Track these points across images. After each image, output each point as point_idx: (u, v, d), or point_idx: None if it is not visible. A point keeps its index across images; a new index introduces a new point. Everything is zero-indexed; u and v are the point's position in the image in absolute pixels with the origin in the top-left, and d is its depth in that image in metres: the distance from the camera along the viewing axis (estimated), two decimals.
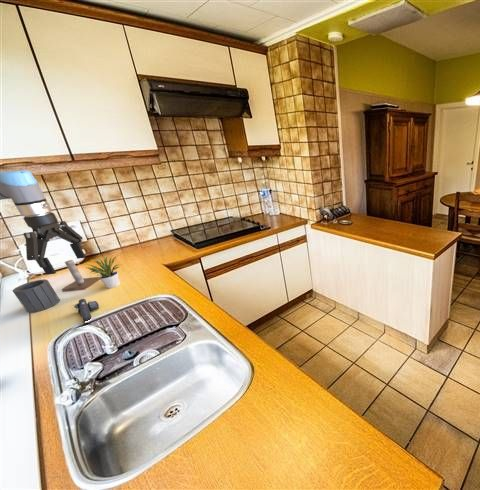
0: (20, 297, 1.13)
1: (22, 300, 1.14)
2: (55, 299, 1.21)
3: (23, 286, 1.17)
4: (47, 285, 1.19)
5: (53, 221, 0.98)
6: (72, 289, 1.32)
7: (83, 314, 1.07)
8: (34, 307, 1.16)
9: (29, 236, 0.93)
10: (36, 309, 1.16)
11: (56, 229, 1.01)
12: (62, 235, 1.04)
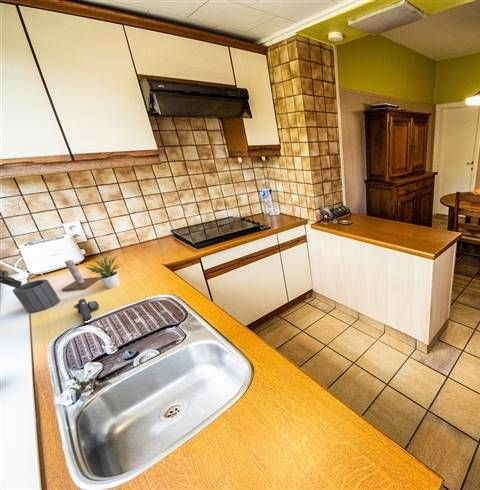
0: (20, 297, 1.13)
1: (22, 300, 1.14)
2: (55, 299, 1.21)
3: (23, 286, 1.17)
4: (47, 285, 1.19)
5: None
6: (72, 289, 1.32)
7: (83, 314, 1.07)
8: (34, 307, 1.16)
9: None
10: (36, 309, 1.16)
11: None
12: None
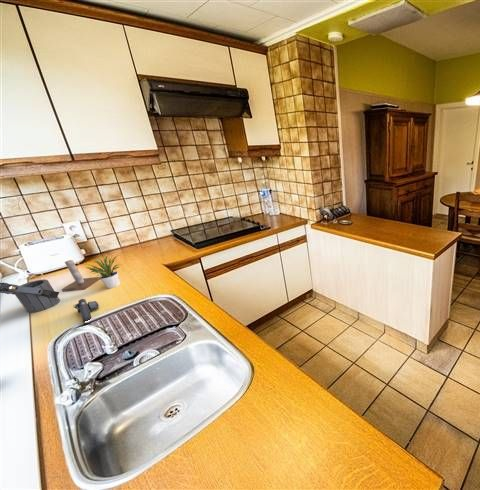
0: (20, 297, 1.13)
1: (22, 300, 1.14)
2: (55, 299, 1.21)
3: None
4: (47, 285, 1.19)
5: None
6: (72, 289, 1.32)
7: (83, 314, 1.07)
8: (34, 307, 1.16)
9: None
10: (36, 309, 1.16)
11: None
12: None
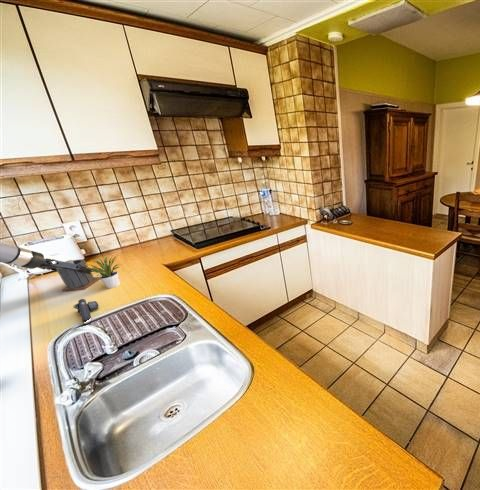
0: (62, 274, 1.28)
1: (64, 276, 1.29)
2: (91, 277, 1.37)
3: None
4: (84, 264, 1.34)
5: (29, 268, 1.18)
6: (72, 289, 1.32)
7: (82, 314, 1.06)
8: (74, 283, 1.31)
9: None
10: (75, 285, 1.31)
11: (44, 266, 1.21)
12: None
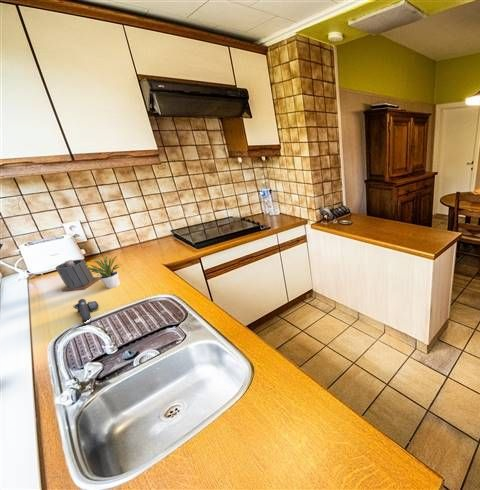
0: (62, 274, 1.28)
1: (64, 276, 1.29)
2: (91, 277, 1.37)
3: (63, 265, 1.32)
4: (84, 264, 1.34)
5: None
6: (72, 289, 1.32)
7: (82, 314, 1.06)
8: (74, 283, 1.31)
9: None
10: (75, 285, 1.31)
11: None
12: None
